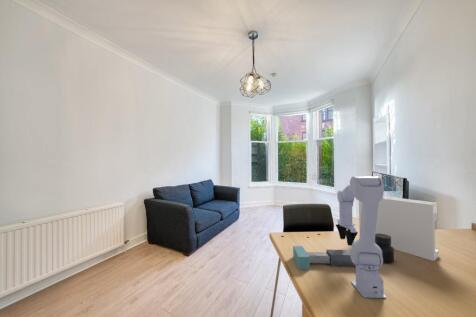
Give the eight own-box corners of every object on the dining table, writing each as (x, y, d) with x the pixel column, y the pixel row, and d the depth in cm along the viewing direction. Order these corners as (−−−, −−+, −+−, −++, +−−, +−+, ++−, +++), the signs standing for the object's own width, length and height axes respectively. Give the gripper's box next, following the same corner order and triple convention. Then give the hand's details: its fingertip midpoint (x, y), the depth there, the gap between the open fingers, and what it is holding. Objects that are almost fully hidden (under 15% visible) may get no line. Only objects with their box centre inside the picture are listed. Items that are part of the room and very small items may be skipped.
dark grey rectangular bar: (361, 267, 93) (361, 255, 93) (331, 266, 94) (330, 254, 94) (355, 261, 99) (354, 249, 99) (326, 260, 100) (326, 249, 100)
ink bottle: (381, 254, 106) (381, 231, 106) (399, 262, 98) (398, 237, 98) (367, 257, 103) (367, 234, 103) (385, 265, 95) (384, 240, 95)
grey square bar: (339, 263, 95) (338, 255, 95) (300, 262, 96) (300, 255, 96) (335, 259, 98) (335, 252, 98) (299, 259, 99) (298, 251, 99)
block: (359, 238, 128) (358, 195, 128) (365, 235, 132) (364, 193, 133) (433, 261, 98) (432, 204, 99) (438, 256, 103) (437, 202, 103)
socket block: (309, 269, 91) (309, 257, 92) (299, 269, 92) (298, 256, 92) (302, 257, 103) (302, 246, 104) (293, 257, 104) (293, 246, 104)
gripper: (362, 219, 92) (362, 248, 92) (346, 211, 107) (347, 236, 106) (346, 219, 93) (347, 248, 92) (333, 211, 107) (333, 236, 107)
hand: (346, 242), depth 99 cm, fingers open, 7 cm apart
